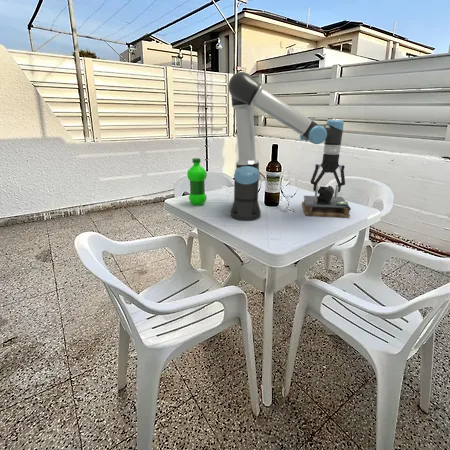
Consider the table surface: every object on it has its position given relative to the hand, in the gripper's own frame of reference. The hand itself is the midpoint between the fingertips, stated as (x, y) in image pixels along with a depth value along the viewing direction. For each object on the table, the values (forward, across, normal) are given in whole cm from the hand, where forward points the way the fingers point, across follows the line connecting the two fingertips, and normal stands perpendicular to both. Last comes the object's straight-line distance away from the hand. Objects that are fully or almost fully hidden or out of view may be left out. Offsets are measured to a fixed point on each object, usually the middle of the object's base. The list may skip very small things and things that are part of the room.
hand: (325, 197), depth 152 cm
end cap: (+2, 0, 0) cm, 2 cm away
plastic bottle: (+7, -68, +1) cm, 68 cm away
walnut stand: (+7, 0, 0) cm, 7 cm away
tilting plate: (+2, 0, 0) cm, 2 cm away
